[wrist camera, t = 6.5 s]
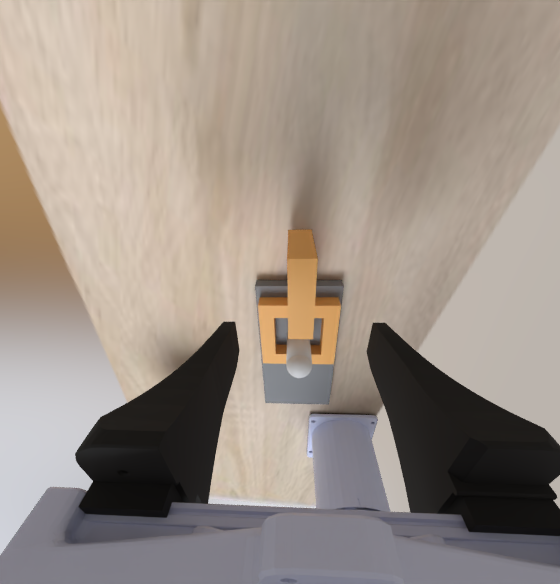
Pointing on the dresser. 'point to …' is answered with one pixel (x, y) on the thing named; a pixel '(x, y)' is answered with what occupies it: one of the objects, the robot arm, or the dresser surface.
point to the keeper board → (279, 372)
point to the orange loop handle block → (300, 306)
